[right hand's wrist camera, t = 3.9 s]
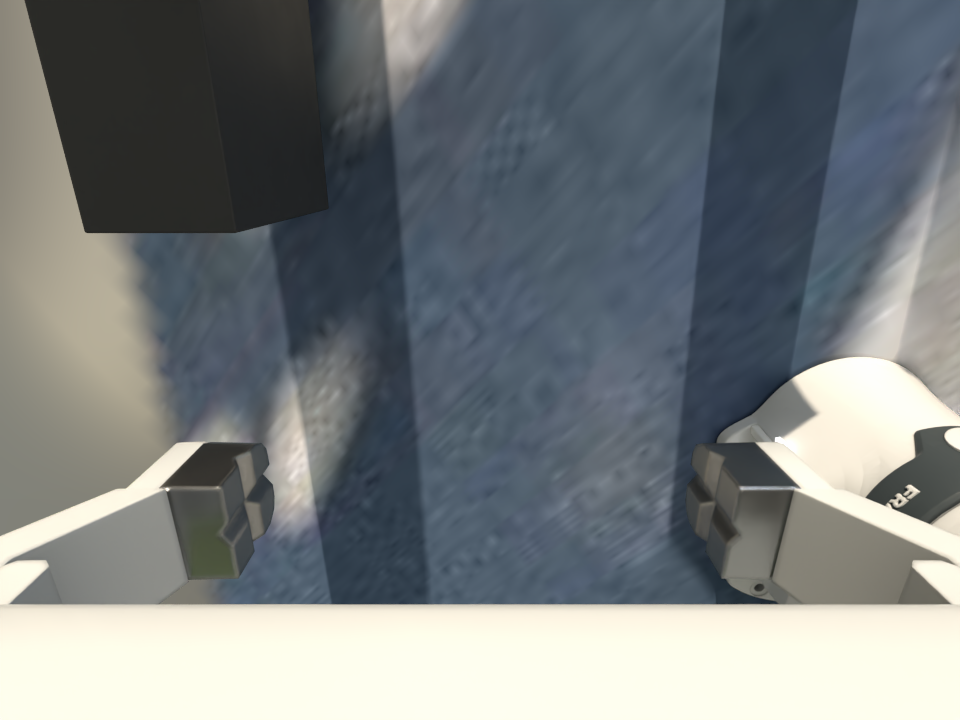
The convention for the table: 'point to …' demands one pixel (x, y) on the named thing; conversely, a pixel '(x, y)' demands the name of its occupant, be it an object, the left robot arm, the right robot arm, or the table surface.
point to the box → (184, 111)
